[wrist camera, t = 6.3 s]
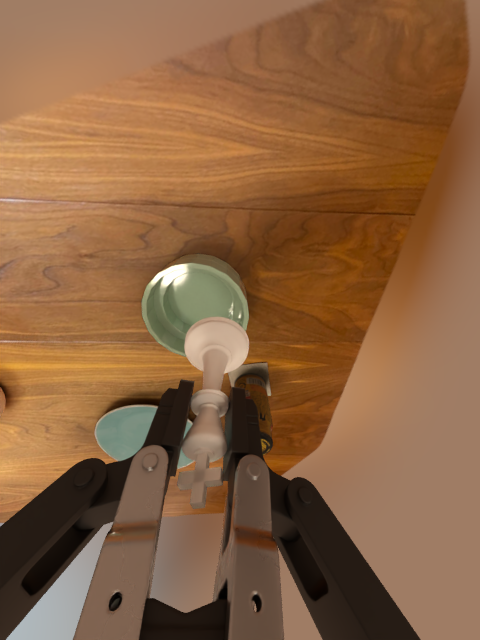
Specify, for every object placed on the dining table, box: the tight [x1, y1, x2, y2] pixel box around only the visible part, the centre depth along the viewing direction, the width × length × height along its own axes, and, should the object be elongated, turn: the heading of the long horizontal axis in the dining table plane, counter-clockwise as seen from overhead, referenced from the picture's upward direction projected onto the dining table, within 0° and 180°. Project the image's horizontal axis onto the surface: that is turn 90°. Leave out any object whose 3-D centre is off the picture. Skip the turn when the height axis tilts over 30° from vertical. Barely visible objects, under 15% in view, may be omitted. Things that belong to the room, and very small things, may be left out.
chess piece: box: [177, 317, 249, 509], centre depth 12 cm, size 5×5×10 cm
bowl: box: [141, 254, 249, 357], centre depth 29 cm, size 13×13×6 cm
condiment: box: [228, 363, 273, 455], centre depth 35 cm, size 7×8×12 cm
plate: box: [95, 404, 194, 469], centre depth 45 cm, size 22×22×3 cm
